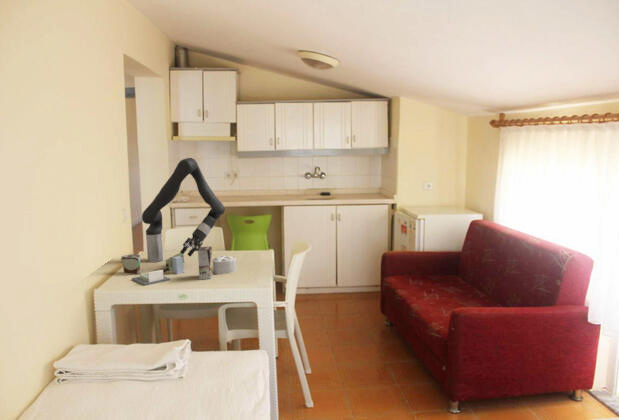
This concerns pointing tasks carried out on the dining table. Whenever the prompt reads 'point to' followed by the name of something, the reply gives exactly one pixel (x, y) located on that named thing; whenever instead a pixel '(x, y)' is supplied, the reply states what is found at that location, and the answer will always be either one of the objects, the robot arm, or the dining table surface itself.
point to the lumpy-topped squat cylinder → (224, 265)
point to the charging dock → (151, 278)
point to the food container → (131, 264)
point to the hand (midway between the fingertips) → (185, 254)
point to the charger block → (178, 265)
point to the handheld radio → (170, 262)
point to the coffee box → (205, 262)
